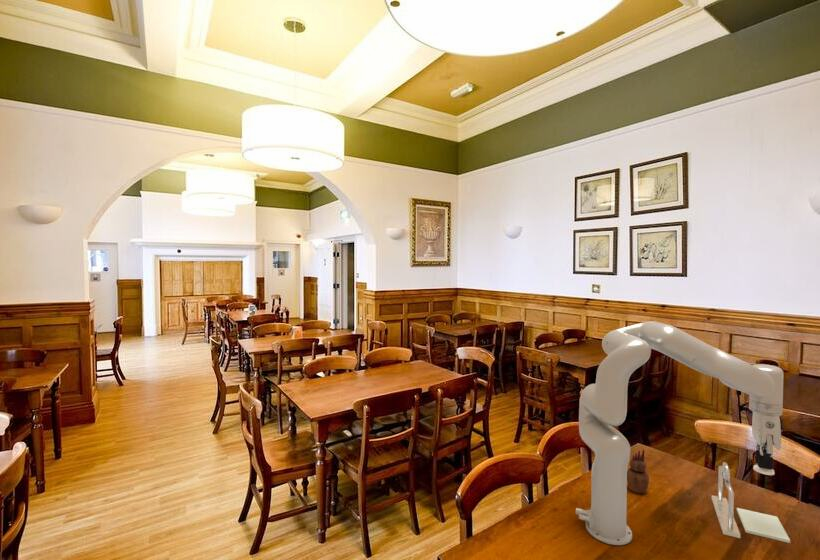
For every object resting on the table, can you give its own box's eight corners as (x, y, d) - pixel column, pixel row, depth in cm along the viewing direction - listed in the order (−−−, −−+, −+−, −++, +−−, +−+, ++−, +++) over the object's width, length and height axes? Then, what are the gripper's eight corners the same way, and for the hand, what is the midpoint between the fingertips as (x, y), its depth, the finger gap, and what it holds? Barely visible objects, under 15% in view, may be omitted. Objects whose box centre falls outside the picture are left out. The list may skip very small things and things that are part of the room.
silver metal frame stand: (723, 534, 120) (724, 479, 119) (711, 498, 137) (712, 450, 137) (740, 538, 118) (741, 482, 117) (726, 501, 136) (727, 452, 135)
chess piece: (778, 476, 120) (779, 442, 119) (759, 474, 121) (760, 441, 120) (767, 467, 124) (768, 435, 124) (749, 466, 125) (750, 434, 125)
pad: (745, 532, 121) (745, 529, 120) (736, 510, 131) (736, 507, 131) (790, 543, 116) (790, 540, 116) (777, 519, 126) (777, 516, 126)
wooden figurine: (648, 489, 143) (649, 448, 143) (648, 497, 138) (648, 455, 138) (627, 484, 147) (627, 443, 146) (626, 491, 142) (626, 450, 141)
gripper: (791, 418, 113) (789, 482, 114) (773, 399, 127) (771, 457, 128) (756, 413, 116) (754, 475, 117) (743, 396, 130) (741, 452, 131)
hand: (763, 465), depth 122 cm, fingers closed on chess piece
